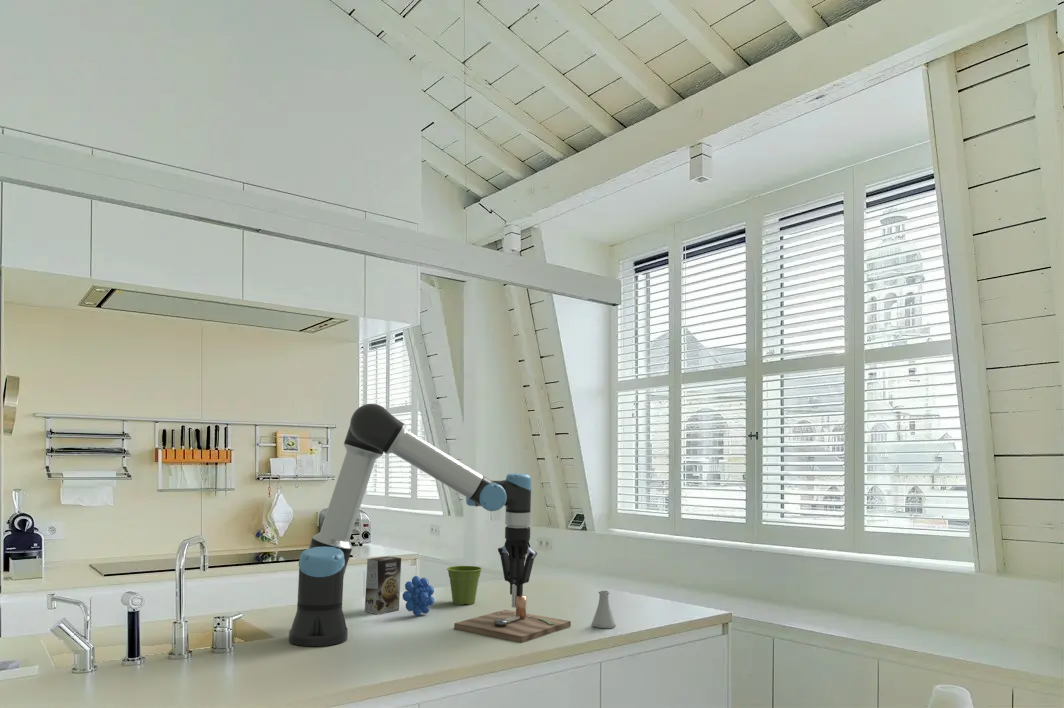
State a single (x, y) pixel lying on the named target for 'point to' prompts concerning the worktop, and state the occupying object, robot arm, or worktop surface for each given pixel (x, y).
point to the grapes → (418, 595)
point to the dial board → (513, 626)
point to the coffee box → (383, 585)
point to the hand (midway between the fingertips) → (515, 606)
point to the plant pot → (464, 583)
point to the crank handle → (519, 612)
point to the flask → (603, 612)
